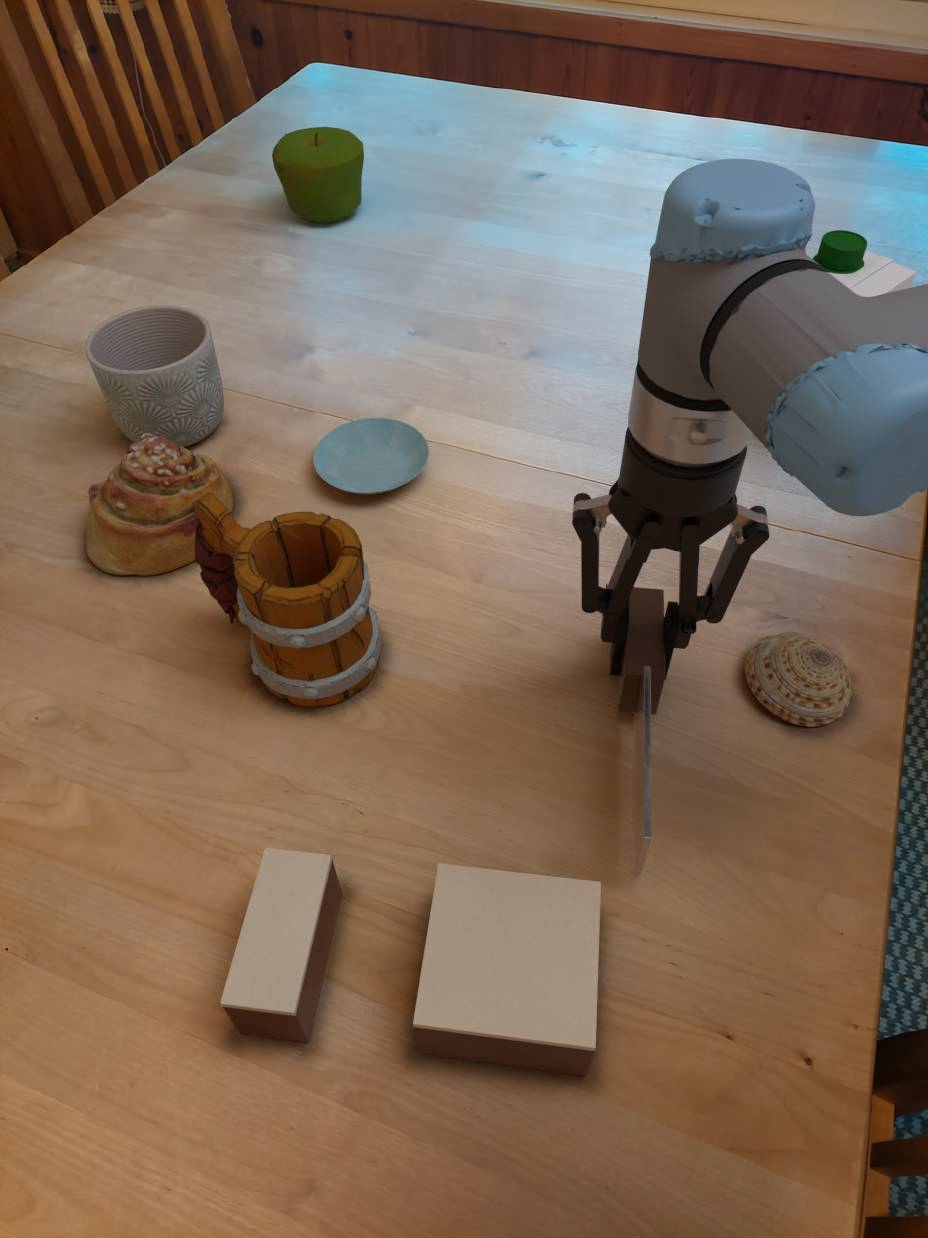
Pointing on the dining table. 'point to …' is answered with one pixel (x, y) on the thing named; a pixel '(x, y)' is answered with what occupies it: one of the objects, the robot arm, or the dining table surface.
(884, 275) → the milk carton
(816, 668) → the seashell
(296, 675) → the mug
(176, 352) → the planter
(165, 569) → the pastry
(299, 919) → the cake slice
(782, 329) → the robot arm
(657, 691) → the knife
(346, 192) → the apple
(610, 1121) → the dining table surface
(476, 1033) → the beige square block
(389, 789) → the dining table surface
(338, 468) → the saucer
